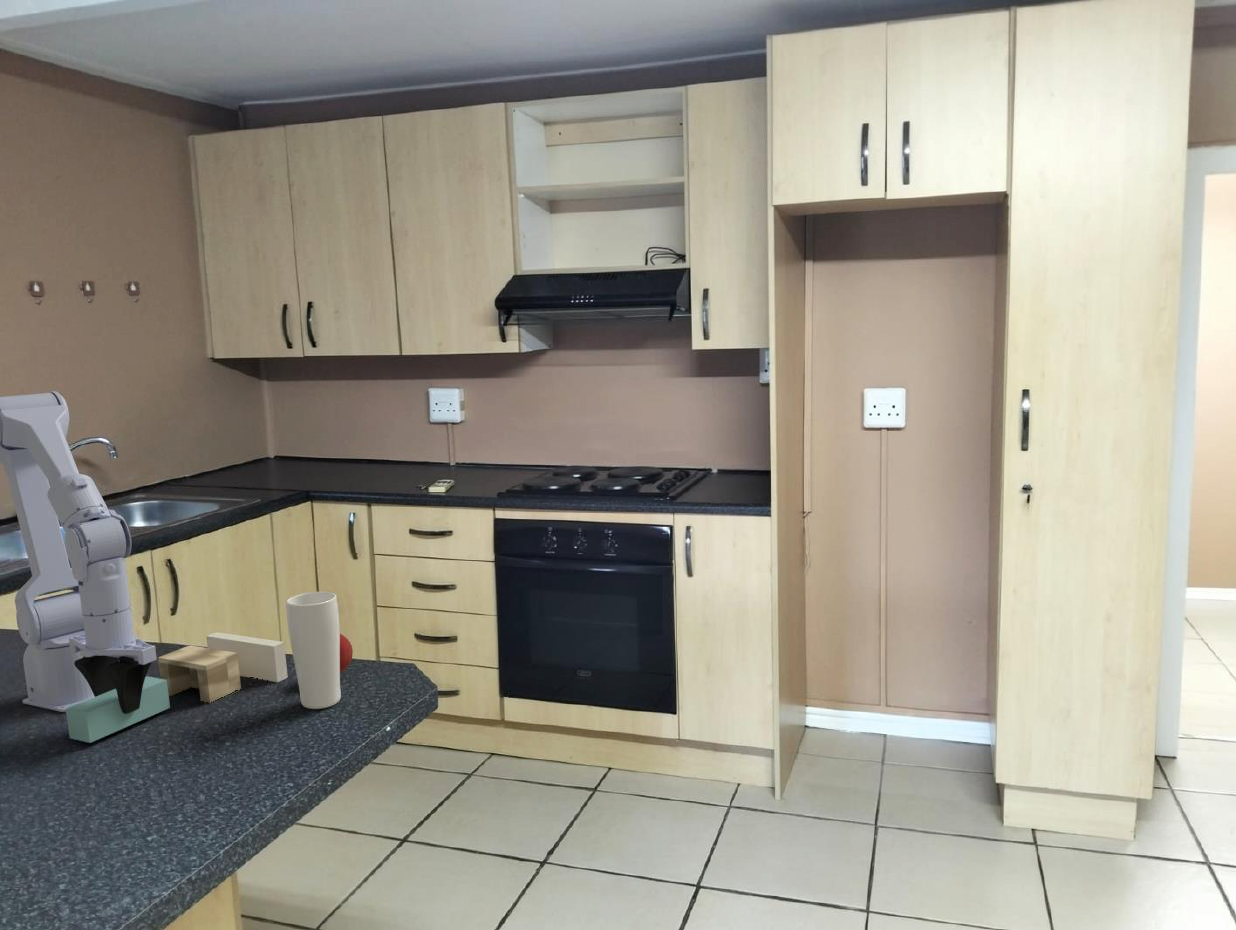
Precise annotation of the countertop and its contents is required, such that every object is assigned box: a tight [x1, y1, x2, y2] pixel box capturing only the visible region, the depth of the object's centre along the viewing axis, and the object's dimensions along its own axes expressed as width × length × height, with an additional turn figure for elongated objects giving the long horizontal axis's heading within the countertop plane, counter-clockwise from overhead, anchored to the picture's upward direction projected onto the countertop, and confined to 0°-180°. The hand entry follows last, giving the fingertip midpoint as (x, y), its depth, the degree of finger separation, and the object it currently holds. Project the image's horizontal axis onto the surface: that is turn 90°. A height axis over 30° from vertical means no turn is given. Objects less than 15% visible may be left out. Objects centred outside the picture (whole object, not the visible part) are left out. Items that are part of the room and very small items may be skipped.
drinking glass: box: [285, 591, 342, 710], centre depth 136 cm, size 7×7×15 cm
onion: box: [340, 633, 354, 675], centre depth 146 cm, size 6×6×8 cm
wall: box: [205, 631, 289, 683], centre depth 150 cm, size 14×2×6 cm, turn 63°
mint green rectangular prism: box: [65, 675, 171, 744], centre depth 132 cm, size 4×12×4 cm, turn 153°
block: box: [157, 645, 242, 704], centre depth 143 cm, size 10×6×6 cm, turn 63°
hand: (119, 708), depth 132 cm, fingers closed on mint green rectangular prism, 4 cm apart
